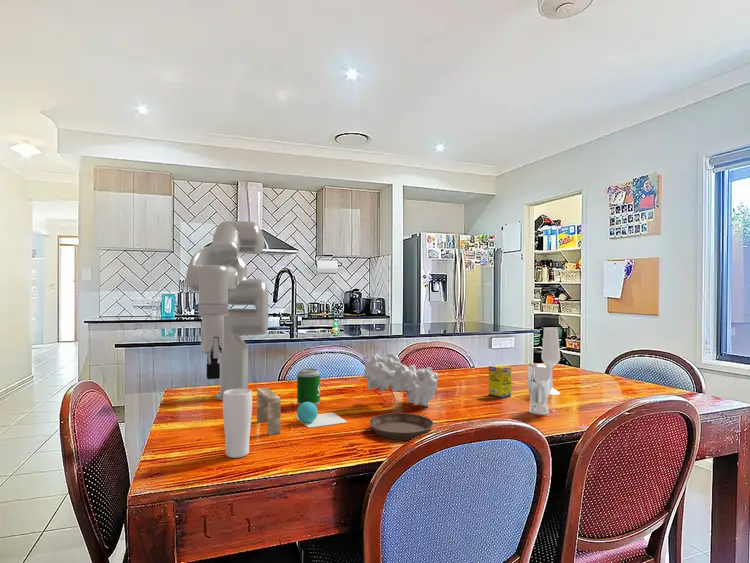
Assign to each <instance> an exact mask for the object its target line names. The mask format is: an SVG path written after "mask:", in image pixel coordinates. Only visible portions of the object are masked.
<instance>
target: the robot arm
mask: <svg viewBox="0 0 750 563" xmlns="http://www.w3.org/2000/svg"><path fill="white" fill-rule="evenodd" d="M264 247H265V237H264V234H263V231H262V229H261V227H260V225H259V224H258V223H257V222H254V221H247V220H246V221H245V220H243V221H242V220H241V221H240V220H226V221H222V222H221V223H219V224H217V227H216V229H215V231H214V233H213V236H212V242H211V244H210V245H207V246H206V247H203V249H200V250H199V251H198V252H197V251H196V253H194V254H193V256H192V257H191V258H190V261H189V264H188V267H187V270H186V276H185V282H186V286H187V288H188V289H189V290H191V291H193V292H198V317H202V318H201V329H200V336H201V337H200V350H201V352H202V353H204V354H205V355H206V379H207V380H216V379H220V380H219V381H220V383H219V384H220V385H219V389H220V390H219V391H220V392H217V393H216V394H215V399H217V400H220V401H223V392H225V391H227V390H231V389H248V388H249V376H248V375H249V347H248V344H247V343H246V342H245V340H244V339H243V338H242V337H243V336H261V335H265V334H266V333H267V332H268V328H269V291H268V290H269V288H268V284H267V282H266V281H265V280H264V279H262V278H261V279H259V278H249V277H248V264H247V263H246V261H245V260H244V259H243V257H242V254H243V255H258V254H261V253H262V251H263V250H264ZM229 305H230V306H254V307H255V308H229Z"/></svg>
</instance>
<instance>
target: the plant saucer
mask: <svg viewBox="0 0 750 563" xmlns="http://www.w3.org/2000/svg"><path fill="white" fill-rule="evenodd" d="M368 423H369V425H370V427H371V428H372V430H373V432H375V433H376V434H377V435H378V436H379V435H380V437H381V438H385V439H389V440H390V439H391V440H401V441H402V440H403V441H404V440H413V439H412V438H415V437H417V436H420V435H422V434H425V433H427V432H428V433H429V432H430V431H431V430H432V428H433V427H434V422H433V420H431V419H430V418H428V417H426V416H423V415H419V414H414V413H407V412H393V413H383V414H379V415H375V416H373V417H371V418H370V419H369V421H368ZM428 433H427V434H428Z"/></svg>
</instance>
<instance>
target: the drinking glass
mask: <svg viewBox="0 0 750 563" xmlns="http://www.w3.org/2000/svg"><path fill="white" fill-rule="evenodd" d="M252 414H253V391H252V389H231V390H227V391H225V392H223V400H222V419H223V426H224V441H225V455H226V456H227V458H232V459H238V458H244V457H246V456H247V455H249V452H250V436H251V429H252V428H251V427H252V426H251V425H252V416H253V415H252Z"/></svg>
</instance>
